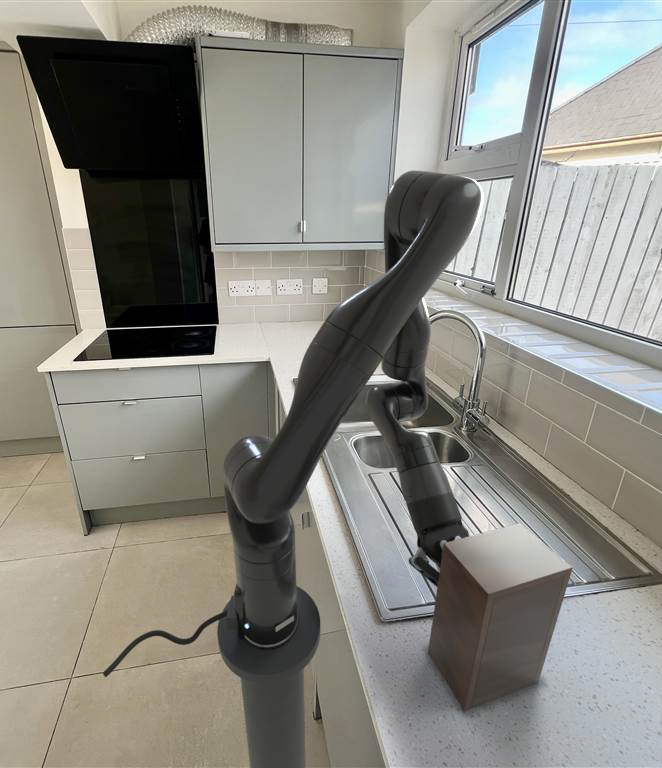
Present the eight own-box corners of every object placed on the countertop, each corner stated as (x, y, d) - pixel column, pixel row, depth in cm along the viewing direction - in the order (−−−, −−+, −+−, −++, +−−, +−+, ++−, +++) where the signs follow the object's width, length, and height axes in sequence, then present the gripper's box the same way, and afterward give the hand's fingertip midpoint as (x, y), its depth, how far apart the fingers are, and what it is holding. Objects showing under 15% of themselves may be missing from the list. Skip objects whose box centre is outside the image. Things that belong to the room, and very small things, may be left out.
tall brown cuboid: (427, 652, 59) (443, 543, 51) (495, 628, 62) (519, 522, 55) (464, 711, 52) (488, 594, 44) (538, 681, 55) (573, 567, 48)
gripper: (402, 501, 60) (443, 633, 54) (476, 483, 64) (523, 604, 57) (382, 508, 67) (417, 626, 60) (450, 491, 70) (490, 600, 64)
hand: (469, 615), depth 59 cm, fingers closed
